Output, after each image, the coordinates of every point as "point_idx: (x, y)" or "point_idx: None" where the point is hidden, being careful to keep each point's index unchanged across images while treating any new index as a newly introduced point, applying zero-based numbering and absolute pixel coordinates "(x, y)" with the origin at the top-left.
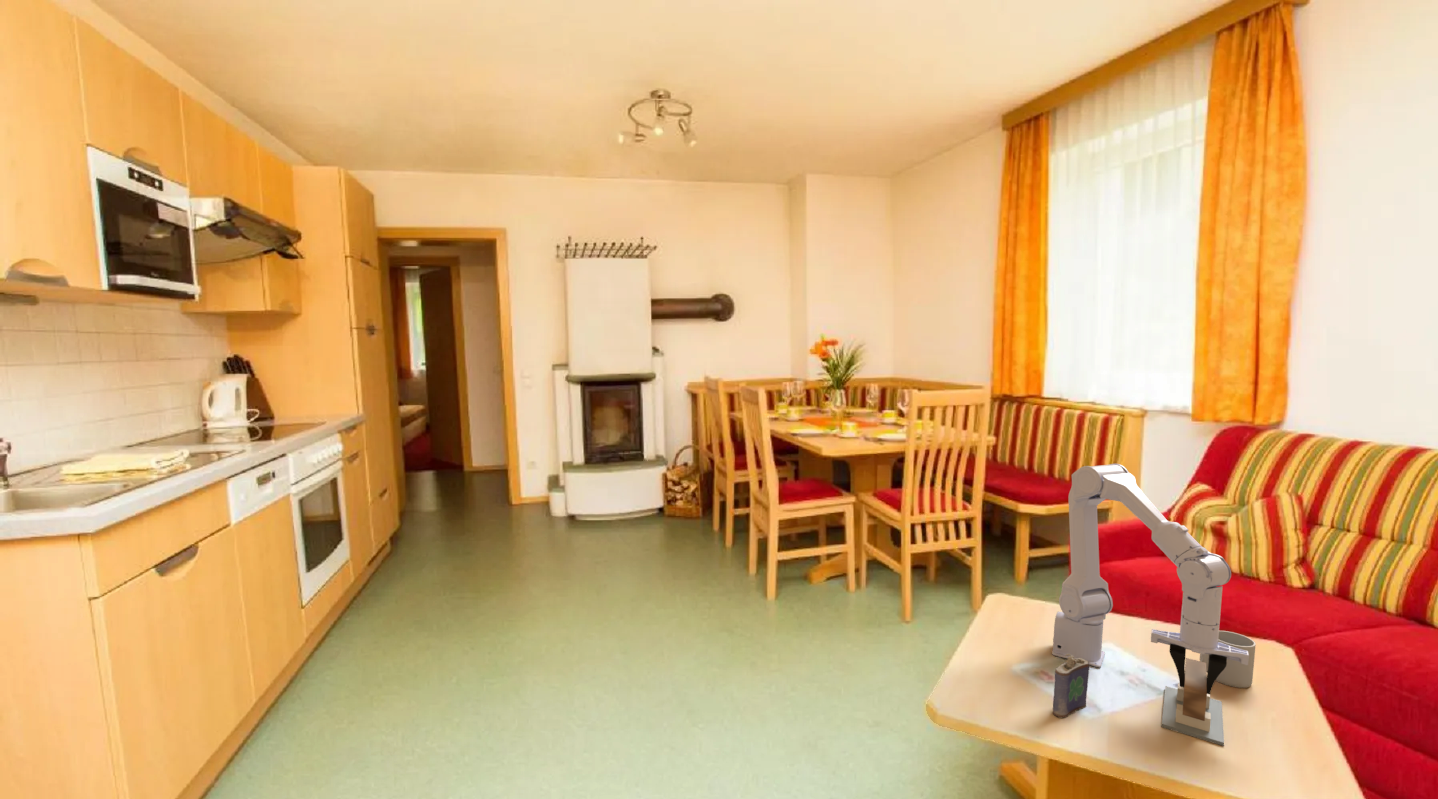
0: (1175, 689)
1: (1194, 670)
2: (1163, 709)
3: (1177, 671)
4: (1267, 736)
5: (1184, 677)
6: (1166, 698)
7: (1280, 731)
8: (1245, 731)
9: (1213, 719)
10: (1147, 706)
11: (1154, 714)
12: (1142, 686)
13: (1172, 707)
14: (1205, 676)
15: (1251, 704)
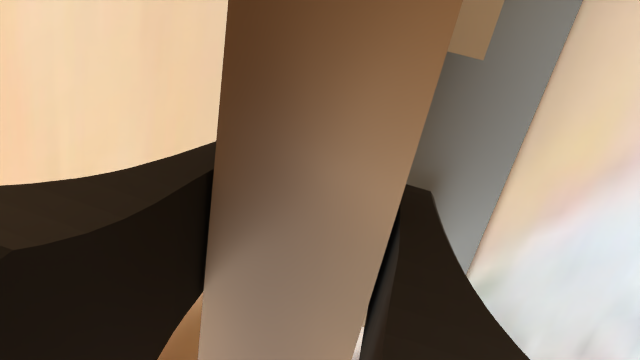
0: None
1: (283, 344)
2: (542, 90)
3: (461, 268)
4: (67, 40)
5: (389, 245)
6: (472, 230)
7: (28, 113)
8: (147, 47)
9: None
10: (622, 128)
11: (615, 34)
12: (553, 338)
13: (470, 138)
14: (212, 266)
15: None
